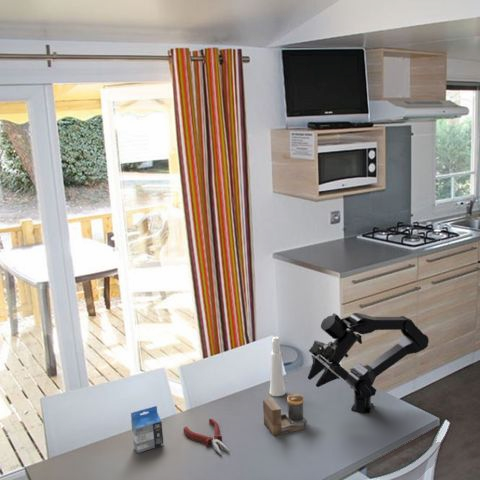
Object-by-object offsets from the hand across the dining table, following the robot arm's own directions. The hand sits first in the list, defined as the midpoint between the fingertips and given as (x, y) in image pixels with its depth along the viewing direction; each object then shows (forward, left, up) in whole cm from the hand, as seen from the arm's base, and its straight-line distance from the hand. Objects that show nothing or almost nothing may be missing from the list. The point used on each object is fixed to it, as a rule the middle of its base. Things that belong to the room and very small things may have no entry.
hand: (312, 382), depth 194 cm
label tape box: (+34, -44, -14) cm, 57 cm away
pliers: (+25, -28, -14) cm, 40 cm away
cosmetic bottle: (-14, -19, -14) cm, 27 cm away
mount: (+8, -8, -14) cm, 18 cm away
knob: (+4, -5, -12) cm, 14 cm away
